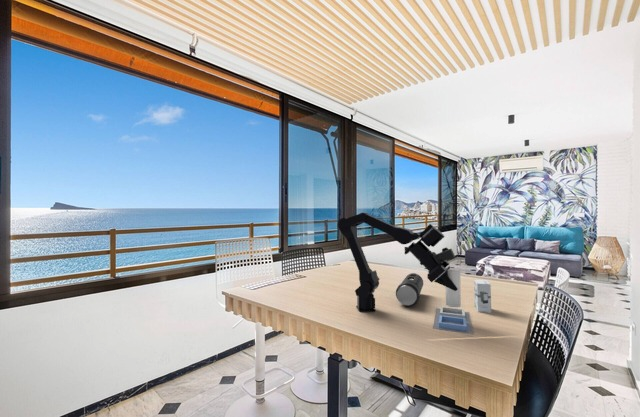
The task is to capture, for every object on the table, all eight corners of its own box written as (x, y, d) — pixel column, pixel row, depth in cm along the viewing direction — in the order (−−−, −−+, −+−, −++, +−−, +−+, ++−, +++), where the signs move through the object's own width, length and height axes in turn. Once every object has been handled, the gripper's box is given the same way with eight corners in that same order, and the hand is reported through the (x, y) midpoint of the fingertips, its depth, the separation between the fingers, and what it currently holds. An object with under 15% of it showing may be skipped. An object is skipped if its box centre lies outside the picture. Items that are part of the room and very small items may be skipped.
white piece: (448, 307, 100) (447, 271, 100) (444, 303, 104) (443, 268, 105) (462, 307, 99) (462, 271, 99) (458, 303, 104) (457, 269, 104)
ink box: (474, 306, 121) (473, 278, 121) (487, 308, 119) (486, 279, 119) (477, 313, 113) (476, 283, 113) (491, 314, 111) (491, 284, 111)
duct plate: (473, 336, 90) (473, 329, 91) (432, 329, 95) (432, 323, 96) (469, 313, 112) (469, 308, 112) (436, 309, 117) (436, 304, 117)
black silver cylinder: (424, 294, 141) (423, 273, 142) (418, 310, 116) (418, 285, 116) (404, 292, 145) (404, 271, 146) (395, 307, 120) (394, 283, 120)
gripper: (437, 242, 96) (474, 278, 91) (443, 239, 113) (475, 269, 107) (413, 264, 100) (448, 300, 94) (422, 257, 116) (452, 288, 110)
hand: (457, 288), depth 101 cm, fingers closed on white piece, 5 cm apart
